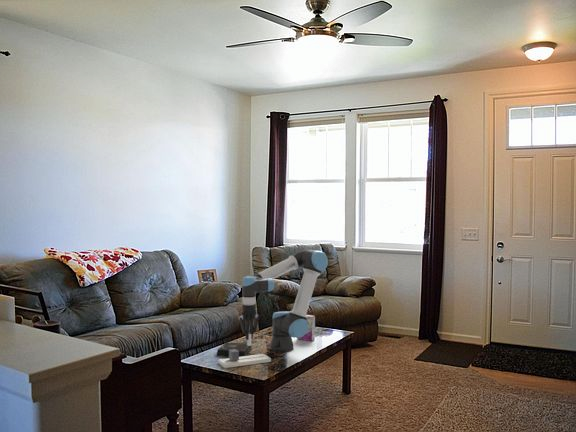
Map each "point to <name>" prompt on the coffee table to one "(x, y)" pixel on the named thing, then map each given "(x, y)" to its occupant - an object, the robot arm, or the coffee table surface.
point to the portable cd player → (242, 348)
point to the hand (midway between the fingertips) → (249, 345)
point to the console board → (245, 360)
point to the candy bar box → (309, 329)
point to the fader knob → (233, 355)
